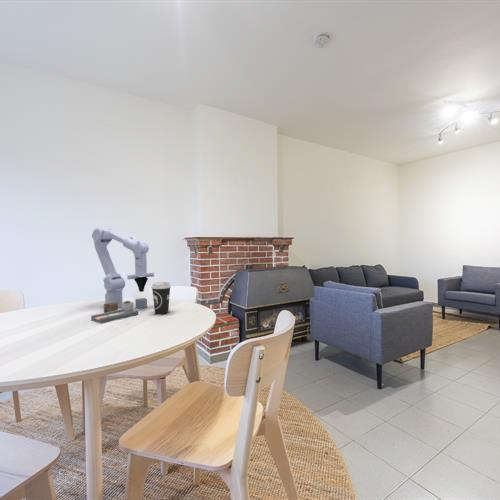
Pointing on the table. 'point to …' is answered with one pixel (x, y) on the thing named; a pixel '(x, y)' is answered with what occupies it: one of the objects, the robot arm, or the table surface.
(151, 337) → the table surface
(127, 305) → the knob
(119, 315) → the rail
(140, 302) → the slate-blue block
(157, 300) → the coffee cup
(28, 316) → the table surface
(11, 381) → the table surface
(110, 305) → the walnut block
